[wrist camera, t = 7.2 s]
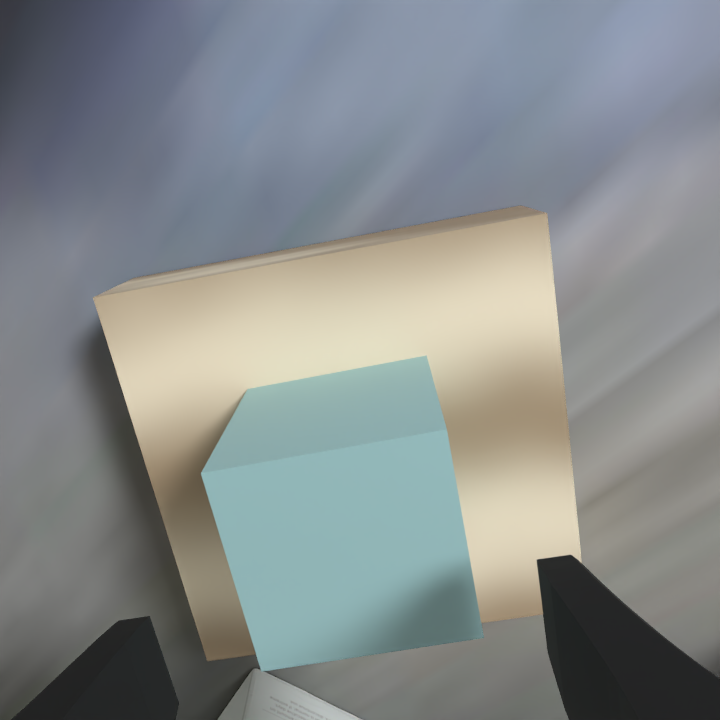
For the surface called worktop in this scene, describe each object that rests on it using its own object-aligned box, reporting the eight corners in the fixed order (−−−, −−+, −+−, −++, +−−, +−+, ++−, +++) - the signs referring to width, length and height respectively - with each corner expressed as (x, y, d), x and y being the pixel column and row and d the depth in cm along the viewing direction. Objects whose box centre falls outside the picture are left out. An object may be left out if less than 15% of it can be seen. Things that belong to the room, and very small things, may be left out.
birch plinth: (559, 551, 22) (586, 608, 19) (227, 599, 23) (207, 661, 20) (520, 205, 19) (546, 213, 16) (133, 278, 20) (92, 297, 17)
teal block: (455, 515, 19) (484, 637, 14) (289, 543, 19) (261, 671, 14) (426, 355, 17) (447, 429, 12) (247, 388, 18) (200, 473, 13)
